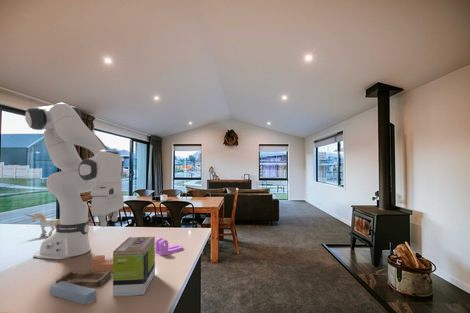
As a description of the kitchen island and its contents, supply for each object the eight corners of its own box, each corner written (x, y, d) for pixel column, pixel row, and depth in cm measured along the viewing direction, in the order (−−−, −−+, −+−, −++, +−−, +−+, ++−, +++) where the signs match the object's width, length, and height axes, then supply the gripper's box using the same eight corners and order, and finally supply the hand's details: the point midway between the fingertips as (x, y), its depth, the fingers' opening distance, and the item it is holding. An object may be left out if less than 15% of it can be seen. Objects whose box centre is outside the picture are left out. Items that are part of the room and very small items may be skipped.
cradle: (55, 287, 82) (56, 281, 82) (70, 276, 89) (70, 271, 89) (100, 286, 83) (100, 280, 83) (110, 276, 90) (110, 270, 90)
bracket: (160, 256, 111) (161, 241, 111) (155, 253, 114) (155, 238, 115) (185, 249, 120) (185, 235, 120) (179, 246, 124) (179, 233, 124)
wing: (50, 295, 77) (50, 285, 77) (61, 290, 81) (62, 281, 81) (85, 305, 72) (85, 295, 72) (96, 299, 75) (96, 290, 75)
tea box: (128, 275, 91) (129, 236, 91) (155, 274, 92) (156, 235, 92) (111, 297, 76) (112, 249, 76) (143, 296, 77) (144, 249, 77)
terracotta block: (91, 272, 94) (91, 252, 94) (96, 267, 98) (96, 249, 98) (122, 271, 94) (122, 252, 95) (126, 267, 98) (126, 248, 99)
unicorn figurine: (31, 234, 143) (32, 212, 144) (67, 233, 147) (67, 211, 147) (22, 238, 136) (23, 214, 137) (60, 236, 140) (61, 213, 140)
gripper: (113, 187, 108) (113, 218, 107) (88, 191, 88) (87, 230, 87) (127, 187, 108) (127, 217, 108) (105, 191, 88) (105, 229, 87)
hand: (109, 223), depth 97 cm, fingers open, 8 cm apart
